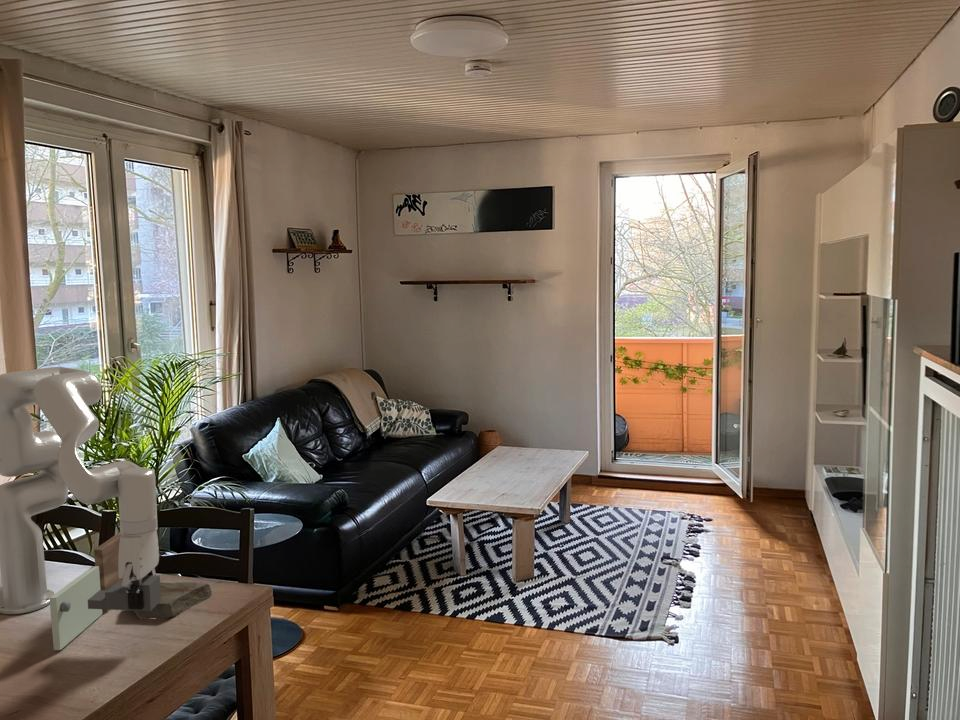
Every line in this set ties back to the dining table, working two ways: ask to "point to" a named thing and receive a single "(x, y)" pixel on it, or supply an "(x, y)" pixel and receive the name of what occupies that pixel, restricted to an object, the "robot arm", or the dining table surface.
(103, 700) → the dining table surface
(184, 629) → the dining table surface
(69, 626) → the door
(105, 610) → the wood grain plank
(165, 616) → the marble piece
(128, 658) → the dining table surface
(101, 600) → the grey stepped block
